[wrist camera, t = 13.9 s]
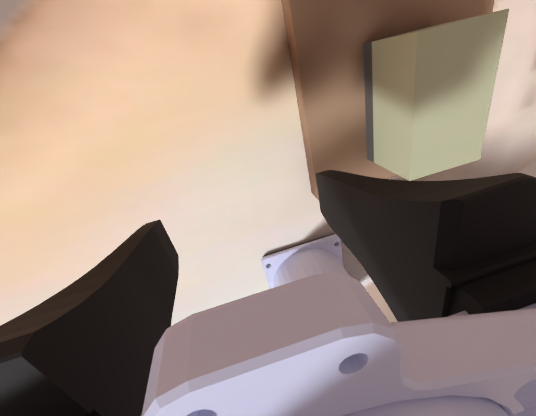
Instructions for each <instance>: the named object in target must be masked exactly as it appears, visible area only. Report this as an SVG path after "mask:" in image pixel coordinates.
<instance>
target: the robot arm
mask: <svg viewBox="0 0 536 416" xmlns="http://www.w3.org/2000/svg"><path fill="white" fill-rule="evenodd" d="M316 181H317V188H318V195H319V202H320V209H321V213H322V214H323V216H324V218H325V219H326V221H327V223H328V224H329V226H330V227H331V228H332V230H333V231H334V232H335V233H336V234H334V235H330V236H327V237H324V238H321V239H318V240H315V241H311V242H308V243H305V244H302V245H299V246H296V247H293V248H289V249H286V250H283V251H280V252H277V253H274V254H271V255H267V256H265V257H263V258H262V264H263V268H264V271H265V274H266V277H267V281H268V284H269V287H270V289H268V290H265V291H262V292H259V293H256V294H253V295H250V296H247V297H244V298H241V299H238V300H235V301H232V302H229V303H226V304H223V305H220V306H217V307H214V308H210V309H207V310H204V311H201V312H198V313H195V314H192V315H191V316H189V317H187V318H185V319H183V320H182V321H180V322H178V323H176V324H174V325H173V326H171V318H172V312H173V306H174V300H175V294H176V287H177V281H178V268H179V265H178V254H177V252H176V250H175V248H174V246H173V244H172V242H171V240H170V238H169V236H168V234H167V232H166V230H165V228H164V226H163V224H162V222H161V220H157V221H154V222H150V223H147V224H145V225H143V226H142V227H141V228H139V229H138V230H137V231H136V232H135V233H133V234H132V235H131V236H130V237H129V238H128V239H127V240H126V241H124V242H123V243H122V244H121V245H120V246H119V247H118V248H117V249H115V250H114V251H113V252H112V253H111V254H110V255H108V256H107V257H106V258H105V259H104V260H102V261H101V262H100V263H99V264H98V265H96V266H95V267H94V268H93V269H91V270H90V271H89V272H87V273H86V274H85V275H83V276H82V277H81V278H79V279H78V280H76V281H75V282H74V283H72V284H71V285H69V286H68V287H66V288H65V289H63V290H62V291H60V292H58V293H57V294H55V295H54V296H52V297H50V298H49V299H47V300H46V301H44V302H42V303H41V304H39V305H37V306H36V307H34V308H32V309H30V310H29V311H27V312H25V313H23V314H22V315H20V316H18V317H16V318H14V319H12V320H11V321H9V322H7V323H5V324H3V325H1V326H0V416H536V178H535V177H532V176H529V175H526V174H522V173H513V174H505V175H498V176H491V177H483V178H476V179H464V180H451V181H402V180H389V179H381V178H374V177H368V176H362V175H357V174H352V173H347V172H342V171H336V170H326V171H322V172H319V173H316ZM341 240H342V241H343V243H344V244H345V245H346V246H347V247H348V248H349V250H350V251H351V252H352V253H353V254H354V255H355V257H356V258H357V259H358V260H359V262H360V263H361V264H362V266H363V267H364V269H365V270H366V272H367V273H368V275H369V276H370V278H371V279H372V281H373V282H374V284H375V285H376V287H377V288H378V290H379V291H380V293H381V295H382V296H383V298H384V299H385V301H386V303H387V304H388V306H389V307H390V309H391V311H392V312H393V314H394V316H395V318H396V319H397V321H398V322H392V323H390V322H389V320H388V319H387V318H386V316H385V315H384V314H383V312H382V311H381V310H380V308H379V307H378V306H377V304H376V303H375V302H374V300H373V299H372V297H371V296H370V295H369V293H368V292H367V291H366V289H365V288H364V287H363V285H362V284H361V283H360V281H359V280H357V279H355V278H352V277H350V276H349V274H348V273H347V271H346V270H345V269H344V264H343V255H342V245H341ZM336 242H337V243H336ZM335 243H336V244H335ZM267 264H270V265H269V266H266V265H267Z"/></svg>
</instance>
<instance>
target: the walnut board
mask: <svg viewBox="0 0 536 416" xmlns="http://www.w3.org/2000/svg"><path fill="white" fill-rule="evenodd" d="M282 5H283V11H284V18H285V24H286V30H287V37H288V43H289V50H290V56H291V63H292V69H293V75H294V82H295V88H296V95H297V101H298V107H299V114H300V120H301V127H302V133H303V140H304V146H305V152H306V159H307V165H308V172H309V178H310V185H311V191H312V193H313V195H314V196H315V197H316V198H317V199H318V200H319V195H318V188H317V181H316V173H319V172H322V171H326V170H336V171H342V172H347V173H352V174H357V175H362V176H368V177H374V178H381V179H387V178H391V177H394V176H397V174H395V173H393V172H391V171H389V170H387V169H385V168H383V167H381V166H379V165H378V164H376V163H374V162H372V161H370V160H368V159H367V145H366V114H365V83H364V51H363V44H364V43H368V42H372V41H376V40H379V39H383V38H387V37H391V36H395V35H399V34H403V33H407V32H411V31H415V30H418V29H422V28H426V27H430V26H434V25H439V24H443V23H448V22H452V21H457V20H461V19H465V18H470V17H474V16H479V15H483V14H488V13H492V11H493V5H494V0H282Z"/></svg>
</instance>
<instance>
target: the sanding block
mask: <svg viewBox="0 0 536 416" xmlns="http://www.w3.org/2000/svg"><path fill="white" fill-rule="evenodd" d="M508 12H509V9H505V10H501V11H497V12H492V13H488V14H483V15H479V16H474V17H470V18H465V19H461V20H457V21H452V22H448V23H443V24H439V25H434V26H430V27H426V28H422V29H418V30H415V31H411V32H407V33H403V34H399V35H395V36H391V37H387V38H383V39H379V40H376V41H372V42H368V43H364V44H363V51H364V83H365V114H366V145H367V159H368V160H370V161H372V162H374V163H376V164H378V165H379V166H381V167H383V168H385V169H387V170H389V171H391V172H393V173H395V174H397V175H399V176H401V177H403V178H405V179H406V180H408V181H411V180H415V179H418V178H421V177H424V176H428V175H431V174H434V173H438V172H441V171H444V170H447V169H451V168H454V167H457V166H460V165H464V164H467V163H470V162H474V161H477V160H480V156H481V151H482V146H483V141H484V136H485V131H486V126H487V120H488V115H489V110H490V105H491V100H492V95H493V89H494V84H495V79H496V74H497V69H498V64H499V58H500V53H501V48H502V43H503V38H504V33H505V27H506V22H507V17H508Z"/></svg>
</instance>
